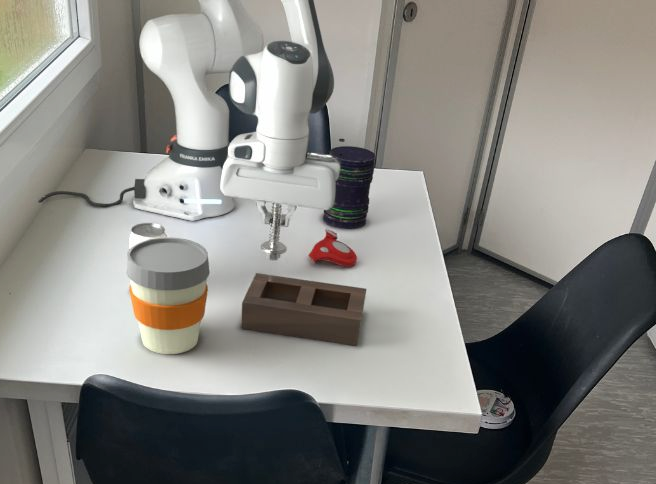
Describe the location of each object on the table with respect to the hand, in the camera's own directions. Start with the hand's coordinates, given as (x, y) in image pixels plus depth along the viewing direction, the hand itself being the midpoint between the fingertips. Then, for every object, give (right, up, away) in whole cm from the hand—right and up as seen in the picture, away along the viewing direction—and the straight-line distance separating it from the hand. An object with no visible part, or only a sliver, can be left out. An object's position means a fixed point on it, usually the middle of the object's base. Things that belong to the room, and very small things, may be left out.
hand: (275, 224), depth 132 cm
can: (-22, -13, -1) cm, 26 cm away
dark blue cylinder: (+15, +7, +30) cm, 35 cm away
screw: (0, -5, +4) cm, 7 cm away
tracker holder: (+12, -3, +15) cm, 20 cm away
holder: (+5, -18, -7) cm, 20 cm away
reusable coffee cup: (-17, -22, -14) cm, 31 cm away
